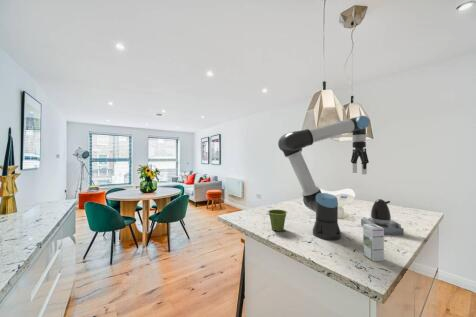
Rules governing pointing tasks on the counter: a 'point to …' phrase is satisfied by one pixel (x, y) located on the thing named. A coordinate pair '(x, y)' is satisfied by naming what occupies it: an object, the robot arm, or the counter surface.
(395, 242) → the counter surface
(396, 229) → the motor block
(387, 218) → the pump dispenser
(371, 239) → the syrup box
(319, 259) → the counter surface
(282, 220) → the plant pot
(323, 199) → the robot arm
